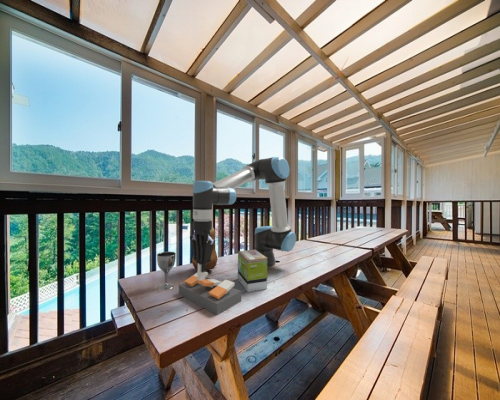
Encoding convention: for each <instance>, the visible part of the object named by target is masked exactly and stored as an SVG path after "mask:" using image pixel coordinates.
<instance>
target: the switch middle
mask: <svg viewBox="0 0 500 400" xmlns="http://www.w3.org/2000/svg"><path fill="white" fill-rule="evenodd" d="M221 282H222V281H220V280H217V279H215V278H210V279H204V280H201V281H199V280H198V281H197V283H199V284H201V285H203V286H209V287H213V286H217V285H219V284H220V283H221Z"/></svg>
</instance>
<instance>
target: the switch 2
mask: <svg viewBox="0 0 500 400" xmlns="http://www.w3.org/2000/svg"><path fill="white" fill-rule="evenodd" d="M220 282H221V283H220V284H219V285H218V286H216V287H215V288H214V289H213V290H211V291H210V292H209V295H210V296H212V297H215V298H217V299H220V298H221V297H222V296H223V295H224V294H226V293H227V292H228V291H229V290H230V289H231V288H235V285H236V284H235V282H234V281H231V280H229V279H224V280H223V281H220Z"/></svg>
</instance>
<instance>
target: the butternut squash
mask: <svg viewBox="0 0 500 400" xmlns="http://www.w3.org/2000/svg"><path fill="white" fill-rule="evenodd" d="M210 234H211V238H212V239H215V240H216V230H215V228H214V226H212V229H211V230H210ZM191 260H192V261H191V263H192V266H193V268H194V269H195V270H197V262H196V260H194V259H193V257H192V259H191ZM217 262H218V254H217V250H216V242H215V243H214V245H213V249H212V255H211V260H210V262H209V263H206V271H205V272H208V271H210V270H214V269H215V268H216V266H217Z"/></svg>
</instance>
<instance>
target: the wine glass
mask: <svg viewBox="0 0 500 400" xmlns="http://www.w3.org/2000/svg"><path fill="white" fill-rule="evenodd" d="M156 261H157V267H158V268H159V270H161V271H162V272H163V274H164V281H165V282H163V283H161V284H159V285H158V286H157V289H158V290H162V291H163V290H165V291H166V290H170V289H173V288H174V287H175V284H174V283H172V282H168V276H169V272H170V271H171V270H172V269H173V268H174V266H175V263H176V252H175V251H162V252H159V253H157V254H156Z"/></svg>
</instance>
